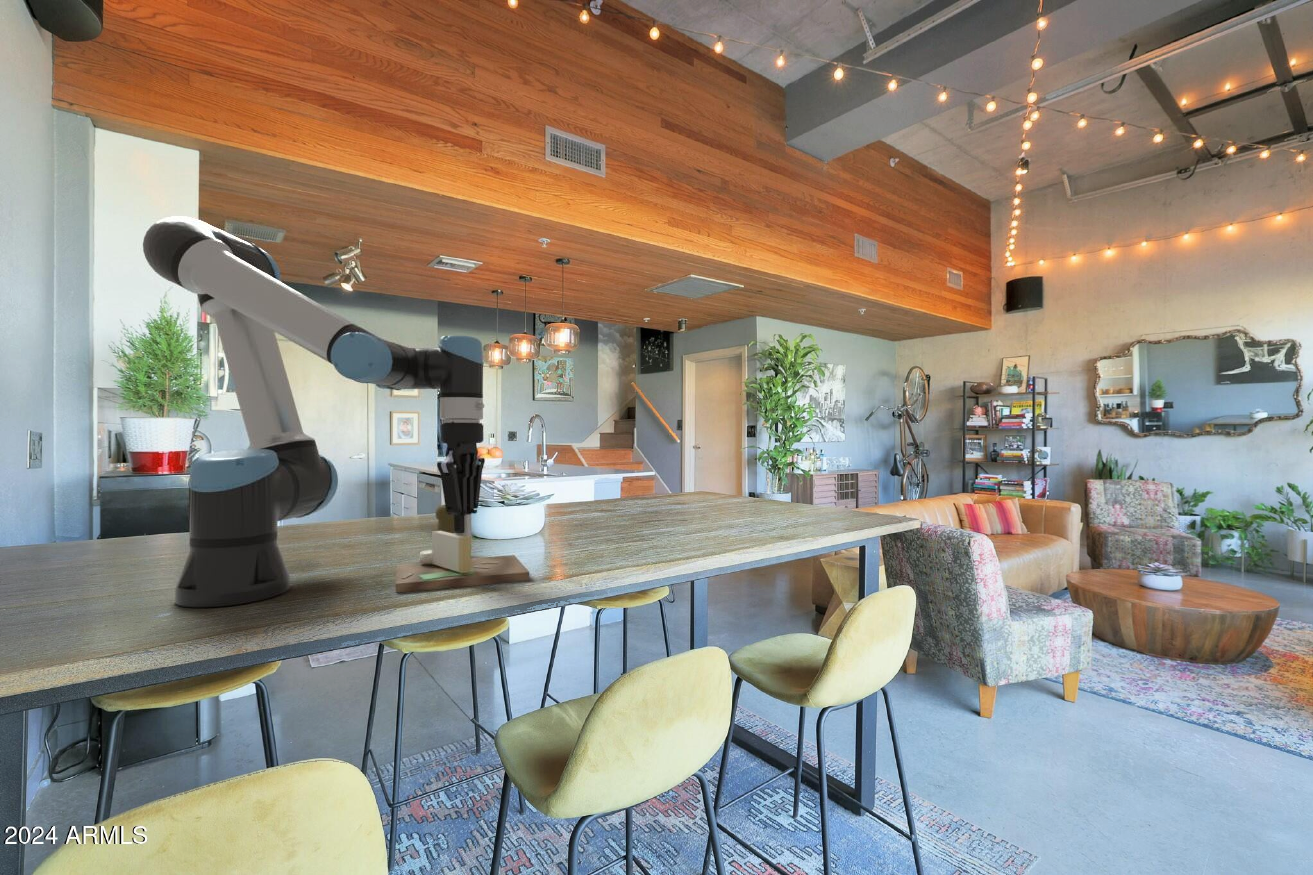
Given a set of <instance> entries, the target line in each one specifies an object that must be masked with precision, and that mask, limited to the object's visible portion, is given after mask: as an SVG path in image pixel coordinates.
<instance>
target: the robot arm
mask: <svg viewBox="0 0 1313 875" xmlns="http://www.w3.org/2000/svg"><path fill="white" fill-rule="evenodd" d="M142 241H143V242H142V248H143V249H142V250H143V255H144V258H145V260H146V261H147V263H148V265H149V266H150V268H151V269H152V270H153V271H154V272H155V273H156V274H158V276H160V277H161V278H163V279H165V280H167V281H168V282H171V283H173V284H176V285H178V286H179V287H181V288H183V289H184V290H187V291H188V292H191V293H193V294H195V295H197V298H198V302H199V305H200V309H201V312H203V314H205V315H207V316H209V317H210V318H213V319H214V322H215V325H216V328H217V332H218V336H219V339H220V343H221V346H222V349H223V353H224V357H225V360H226V363H227V366H228V371H229V374H230V377H231V381H232V384H233V385H232V386H233V388H234V392H235V395H236V399H237V402H238V405H239V408H240V412H241V416H242V419H243V422H244V427H245V430H246V433H247V438H248V441H249V446H247V448H246V449H236V450H235V449H233V450H223V451H216V452H211V453H206V454H202V455H199V456H198V457H196V458H194V460H193V461H192V462H191V464H190V468H189V478H188V482H187V487H188V509H189V510H188V512H189V513H188V515H189V516H188V519H189V520H188V521H189V522H188V523H189V525H188V526H189V529H188V530H189V552H188V554H187V557H186V560H185V563H184V565H183V568H182V570H181V572H180V574H179V575H180V576H179V578H178V580H177V583H176V585H175V589H174V599H175V600H174V603H175V604H176V605H177V606H180V607H186V608H215V607H218V608H219V607H224V606H225V607H227V606H228V607H229V606H235V605H236V606H237V605H243V604H248V603H252V602H253V603H254V602H257V601H258V602H259V601H262V600H266V599H267V600H268V599H271V598H274V597H277V596H280V595H283V594H284V593H286V592H287V591H289V590H290V588H291V587H290V586H291V581H290V580H291V576H290V572H289V570H288V567H287V565H286V562H285V559H284V557H283V554H282V551H281V550H280V547H279V543H278V531H279V530H278V527H279V526H278V522H281V521H286V520H289V519H290V520H291V519H297V518H299V519H300V518H303V517H306V516H310V515H312V514H315V513H317V512H319V511H321V510H324V508H326V507H327V506H328V505H329V504H330V503H331V501H332V500H333V497H335V495H336V493H337V490H338V484H339V477H338V472H337V469H336V467H335V465H334V464H333V462H332V461H331V460H330V459H328V458H326V457H325V456H323V455H322V454H320V453H319V450H318V446H317V442H316V438H313V437H311V436H310V435H307V434H305V433H304V431H303V426H302V423H301V420H300V416H299V414H298V413H299V412H298V409H297V407H296V402H295V398H294V396H293V391H292V388H291V385H290V382H289V379H288V375H287V374H288V373H287V371H286V367H285V364H284V360H283V356H282V353H281V351H280V347H279V343H278V342H279V341H278V339H277V336H276V334H278V335H280V336H282V337H284V339H287V340H288V341H290V342H292V343H294V344H296V345H298V346H299V347H300V348H303V349H304V350H306V351H308V352H310V353H312V354H313V355H315V356H317V357H319V358H321V359H322V360H325V361H326V362H327V363H329V364H330V365H333V367H334V369H335V370H336V372H338V374H339V375H341V376H343V377H344V378H346V379H349V380H351V381H355V382H357V383H359V384H360V383H361V384H371V385H375V386H376V387H377V388H379V389H382V390H394V391H401V390H439V419H440V420H442V422H441V424H440V426H439V428H440V429H439V433H440V434H439V435H440V438H439V439H440V440H439V441H440V442H441V443H443V444H446V450H445V453H444V454H445V458H444V459H443V460H442V461H441V460H439V461H438V462H437V463H436V464H437V465H436V466H437V469H438V471H439V474H440V478H441V487H442V493H443V499H444V505H445V507H446V512H447V513H448V515H454V534H457V535H461V536H468V537H471V538H472V514H474V515H475V514H477V513H478V508H479V501H480V493H481V485H482V477H483V476H482V475H483V468H484V465H485V462H486V461H485V457H480V456H479V450H478V446H477V444H482V443H484V424H483V423H481V422H480V421H481V420H483V419H484V408H485V404H484V365H485V364H484V359H483V358H484V356H483V345H482V341H481V340H480V339H479V338H477V337H474V336H468V335H460V334H459V335H458V334H457V335H456V334H455V335H453V334H451V335H443V336H441V337H440V339H439V344H438V347H431V348H430V347H427V348H426V347H409V346H404V345H401V344H398V343H395V342H392V341H389V340H386V339H383V338H381V337H379V336H378V335H376V334H374V333H372V332H370V331H368V330H366V329H365V328H363V327H361V326H359V325H357V324H355V323H353V322H352V321H350V320H348V319H347V318H345V317H343V316H341V315H339V314H338V313H336V312H334V311H333V310H331V309H329V308H328V307H325V306H323V305H322V304H320V303H319V302H317V301H315V300H313V299H311V298H309V297H308V296H306V295H305V294H303V293H301V292H299V291H297V290H296V289H293V288H292V287H290V286H288V284H287V285H286V284H285V283H283V282H282V280H281V277H282V276H281V272H280V269H279V267H278V265H277V263H276V262H275V259H274V258H273V257H272V256H271V255H270V254H269V253H268V252H266V251H265V250H263V249H262V248H261V247H259V246H257V245H256V244H254V242H251V241H249V240H247V239H244V238H241V237H236V236H234V235H232V234H230V233H228V232H226V231H224V230H221V229H219V228H217V227H216V226H212V225H210V224H208V223H207V222H204V221H202V220H199V219H196V218H192V217H188V216H170V217H166V218H163V219H160V220H158V221H156V222H154V223H153V224H152V225H151V226H150V227H149V228H148V229H147V231H146V232H145V235H144V237H143V240H142ZM472 547H473V546H472V545H471V550H472Z"/></svg>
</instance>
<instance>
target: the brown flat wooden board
mask: <svg viewBox="0 0 1313 875" xmlns="http://www.w3.org/2000/svg"><path fill="white" fill-rule="evenodd" d="M525 581H530V570H528V568H527V567H525V565H524V564H523V563H522V562H521V561H520V560H519V558H518V557H517V556H516V554H512V555H511V554H510V555H498V556H484V557H471V572H466V573H460V572H457V571H454V570H451V569H448V568H444V567H441V566H438V565H435V564H423V563H420V561H419V562H418V561H417V562H408V563H407V562H406V563H397V564H396V574H395V594H396V593H408V592H418V591H429V590H439V589H451V588H452V589H453V588H460V587H469V586H470V587H472V586H482V585H484V586H485V585H493V584H503V583H505V584H506V583H515V582H525Z"/></svg>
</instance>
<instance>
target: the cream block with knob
mask: <svg viewBox="0 0 1313 875" xmlns="http://www.w3.org/2000/svg"><path fill="white" fill-rule="evenodd" d="M431 535H432V537H431V540H432V541H431V542H432V545H431V548H432V549H428V550H423V551H420V552H419V562H420V563H423V564H435V565H438V566H441V567H444V568H448V569H451V570H454V571H457V572H460V573H466V572H471V558H472V549H471V546H472V536H471V537H468V536H461V535H457V534H453V533H448V532H444V531H437V530H436V531H433V530H432V533H431Z"/></svg>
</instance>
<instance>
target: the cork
mask: <svg viewBox="0 0 1313 875" xmlns="http://www.w3.org/2000/svg"><path fill="white" fill-rule="evenodd" d="M435 518H436V519H437V520H438V521H437V527H436V528H437V529H436V531H444V532H448V533H453V534H454V515H448V513H447V512H446V507H445V504H442V505H439V506H437V508H436V510H435Z"/></svg>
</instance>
